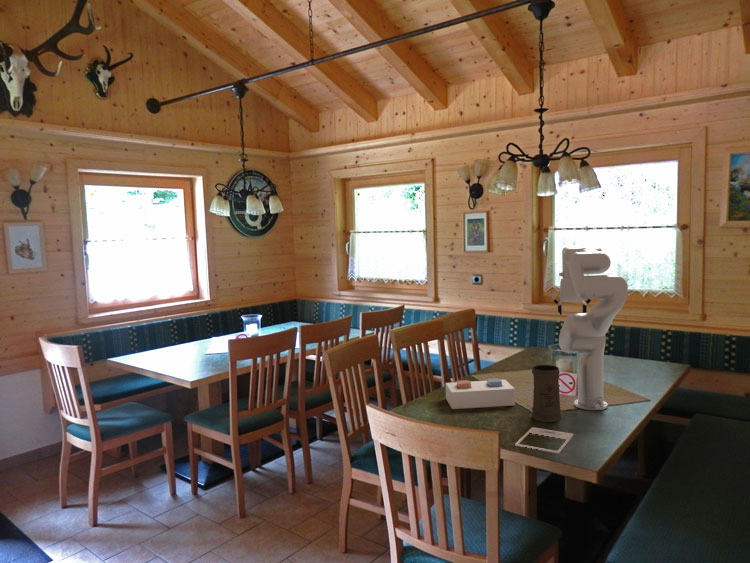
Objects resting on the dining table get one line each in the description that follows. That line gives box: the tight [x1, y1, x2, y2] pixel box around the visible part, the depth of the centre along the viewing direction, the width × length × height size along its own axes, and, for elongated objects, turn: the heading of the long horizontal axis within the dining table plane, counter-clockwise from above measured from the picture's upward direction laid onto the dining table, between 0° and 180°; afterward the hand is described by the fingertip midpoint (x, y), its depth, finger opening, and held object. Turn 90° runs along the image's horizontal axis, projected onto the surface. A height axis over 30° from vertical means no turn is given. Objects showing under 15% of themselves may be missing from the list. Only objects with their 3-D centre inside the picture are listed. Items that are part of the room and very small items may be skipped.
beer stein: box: [531, 364, 562, 423], centre depth 216 cm, size 15×11×20 cm
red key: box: [456, 379, 471, 389], centre depth 236 cm, size 5×5×4 cm
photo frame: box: [514, 426, 575, 455], centre depth 193 cm, size 15×1×18 cm
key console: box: [445, 379, 516, 410], centre depth 237 cm, size 14×26×7 cm, turn 93°
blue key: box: [486, 377, 502, 387], centre depth 237 cm, size 5×5×4 cm
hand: (572, 314), depth 246 cm, fingers open, 9 cm apart
